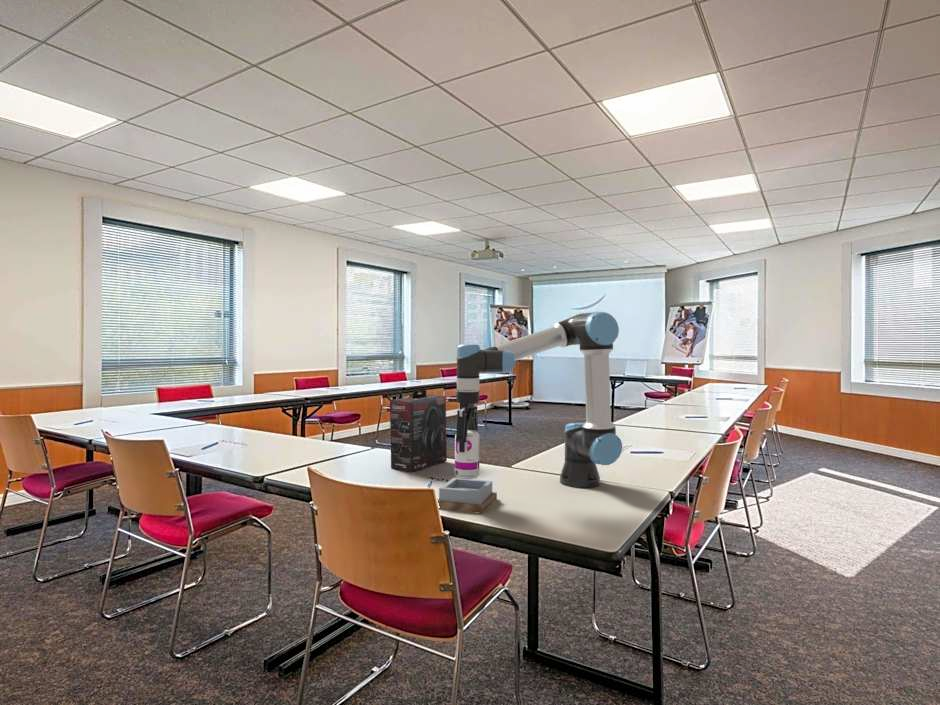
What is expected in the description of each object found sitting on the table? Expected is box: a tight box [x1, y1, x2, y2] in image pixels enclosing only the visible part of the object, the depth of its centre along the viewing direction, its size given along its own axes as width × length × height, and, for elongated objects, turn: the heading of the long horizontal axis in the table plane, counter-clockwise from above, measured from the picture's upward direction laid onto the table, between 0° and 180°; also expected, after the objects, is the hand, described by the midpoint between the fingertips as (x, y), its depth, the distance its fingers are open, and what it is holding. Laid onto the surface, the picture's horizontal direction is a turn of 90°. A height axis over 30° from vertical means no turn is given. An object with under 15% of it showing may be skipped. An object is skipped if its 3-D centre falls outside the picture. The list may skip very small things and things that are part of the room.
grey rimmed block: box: [438, 477, 493, 505], centre depth 174 cm, size 14×14×4 cm
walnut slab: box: [437, 491, 498, 514], centre depth 174 cm, size 16×16×3 cm
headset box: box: [389, 388, 448, 473], centre depth 229 cm, size 24×13×33 cm, turn 145°
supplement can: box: [454, 430, 481, 480], centre depth 174 cm, size 8×8×15 cm
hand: (467, 459), depth 174 cm, fingers closed on supplement can, 8 cm apart
